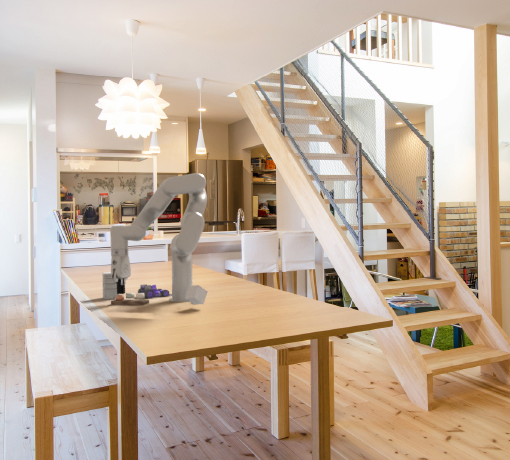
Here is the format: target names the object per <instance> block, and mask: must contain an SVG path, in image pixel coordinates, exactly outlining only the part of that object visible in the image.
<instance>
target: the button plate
mask: <svg viewBox="0 0 510 460" xmlns="http://www.w3.org/2000/svg"><path fill="white" fill-rule="evenodd" d="M148 304H150V300H149V299H129V298H124V300H116V299H112V300H111V301H110V305H112V306H115V305H118V306H145V305H148Z"/></svg>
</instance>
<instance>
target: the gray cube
mask: <svg viewBox="0 0 510 460" xmlns="http://www.w3.org/2000/svg"><path fill="white" fill-rule="evenodd" d="M207 295H208V291H207V290H206V289H205V288H203V287H202V286H200V285H199V284H197V285H195V284H194V285H192V286H189V288H188V291H187V294H186V297H185V299H186V300H188V302H190V303H191V304H192V305H204V303H205V301H206V297H207Z"/></svg>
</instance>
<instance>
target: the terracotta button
mask: <svg viewBox="0 0 510 460" xmlns="http://www.w3.org/2000/svg"><path fill="white" fill-rule="evenodd" d="M124 299H125V295H124V294H119V295H116V299H115V300H124Z"/></svg>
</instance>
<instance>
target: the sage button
mask: <svg viewBox="0 0 510 460" xmlns="http://www.w3.org/2000/svg"><path fill="white" fill-rule="evenodd" d="M125 299H135V292H125Z"/></svg>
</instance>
